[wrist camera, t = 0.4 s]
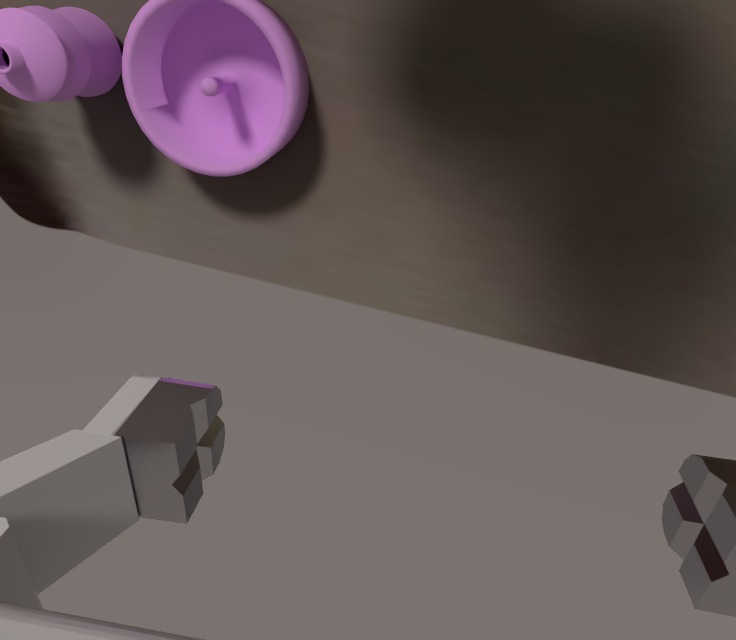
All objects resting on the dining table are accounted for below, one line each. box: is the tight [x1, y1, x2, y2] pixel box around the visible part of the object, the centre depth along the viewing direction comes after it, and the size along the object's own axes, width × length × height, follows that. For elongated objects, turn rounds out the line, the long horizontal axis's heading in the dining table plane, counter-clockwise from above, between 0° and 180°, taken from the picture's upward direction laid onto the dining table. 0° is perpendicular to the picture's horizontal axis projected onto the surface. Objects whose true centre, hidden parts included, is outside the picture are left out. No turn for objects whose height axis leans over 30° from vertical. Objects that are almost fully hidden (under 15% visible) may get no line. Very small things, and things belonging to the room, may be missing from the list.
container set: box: [0, 0, 310, 177], centre depth 46 cm, size 25×15×13 cm, turn 79°
